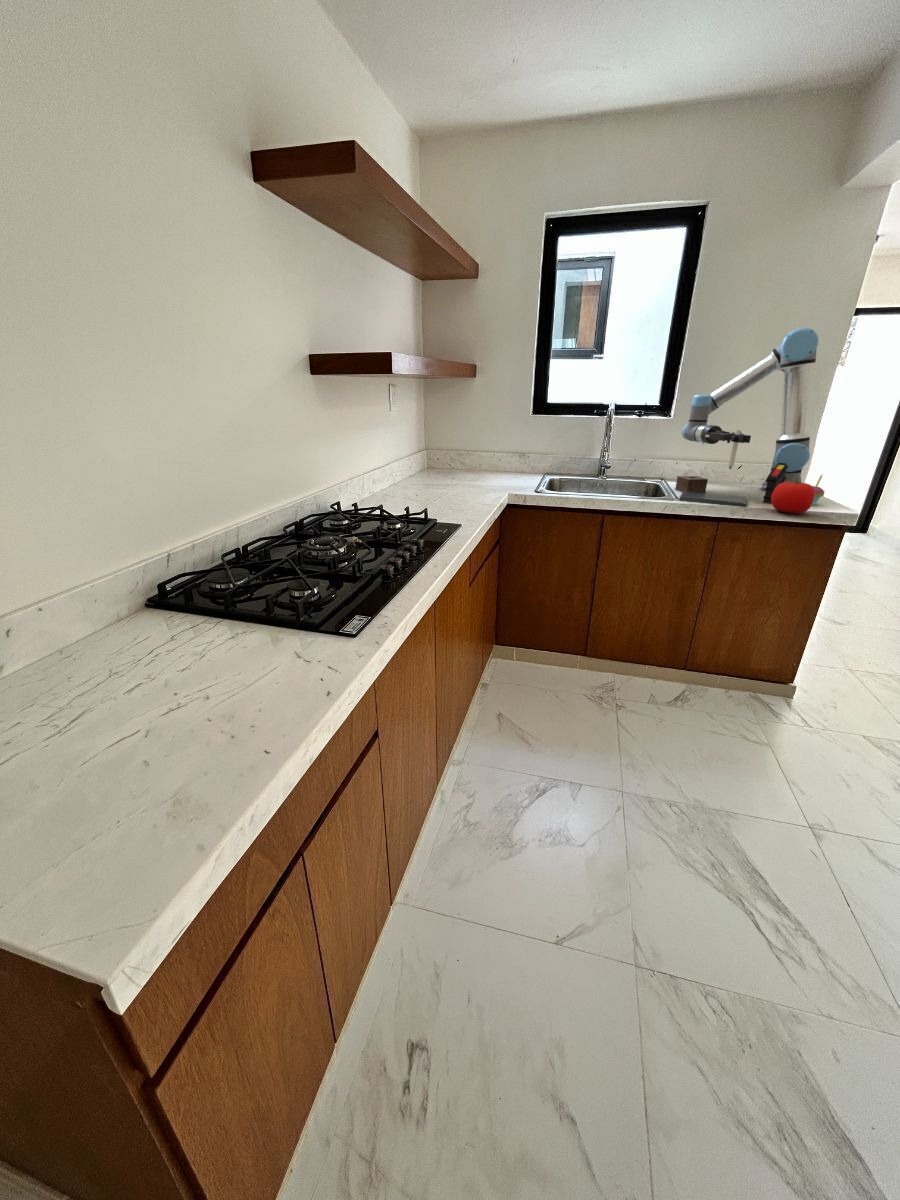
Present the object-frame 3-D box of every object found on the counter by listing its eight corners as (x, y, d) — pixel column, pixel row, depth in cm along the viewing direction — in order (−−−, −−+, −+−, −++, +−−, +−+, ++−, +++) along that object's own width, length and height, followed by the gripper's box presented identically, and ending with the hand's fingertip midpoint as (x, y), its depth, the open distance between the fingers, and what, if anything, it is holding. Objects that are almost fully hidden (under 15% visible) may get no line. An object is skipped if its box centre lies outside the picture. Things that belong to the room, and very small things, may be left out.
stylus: (732, 468, 204) (741, 430, 198) (732, 469, 202) (741, 430, 196) (727, 468, 204) (736, 429, 199) (727, 468, 203) (736, 430, 197)
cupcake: (815, 502, 203) (824, 472, 198) (824, 506, 195) (834, 475, 190) (792, 501, 205) (800, 471, 200) (800, 505, 197) (809, 474, 192)
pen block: (693, 489, 229) (695, 475, 226) (705, 492, 221) (708, 479, 218) (675, 489, 228) (677, 476, 225) (686, 493, 219) (689, 479, 217)
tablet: (745, 499, 208) (746, 496, 208) (745, 506, 195) (746, 503, 194) (683, 493, 219) (683, 490, 218) (679, 500, 205) (679, 497, 205)
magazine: (784, 494, 208) (788, 463, 199) (771, 512, 203) (774, 480, 194) (774, 493, 211) (777, 462, 201) (761, 511, 205) (764, 479, 196)
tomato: (813, 512, 186) (822, 480, 181) (803, 518, 177) (813, 485, 172) (774, 507, 194) (782, 476, 190) (763, 512, 185) (771, 480, 181)
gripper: (722, 443, 218) (761, 449, 196) (691, 443, 216) (726, 449, 194) (726, 425, 215) (766, 429, 193) (694, 425, 213) (731, 429, 191)
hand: (746, 439), depth 194 cm, fingers closed on stylus, 2 cm apart
